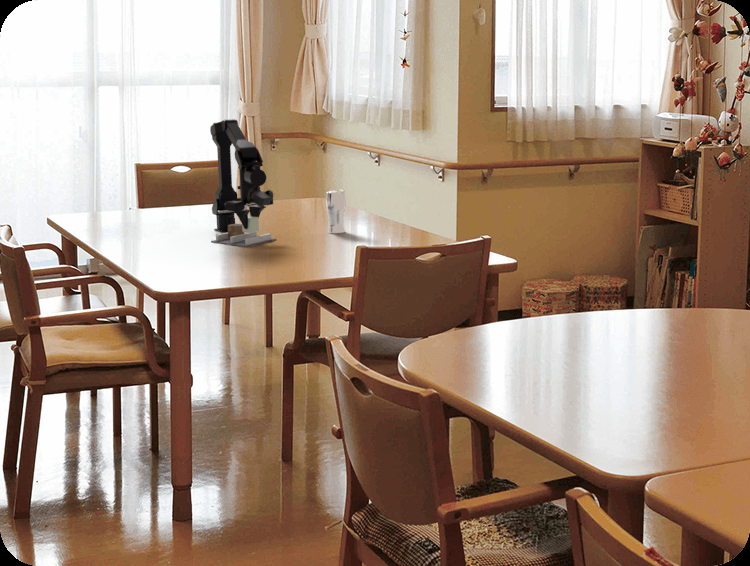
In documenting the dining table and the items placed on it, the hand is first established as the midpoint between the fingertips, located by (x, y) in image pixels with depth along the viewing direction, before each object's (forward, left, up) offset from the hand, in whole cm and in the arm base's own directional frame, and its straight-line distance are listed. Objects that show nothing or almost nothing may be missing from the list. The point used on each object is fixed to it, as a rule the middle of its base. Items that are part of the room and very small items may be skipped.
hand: (250, 227), depth 329 cm
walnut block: (-7, 0, -5) cm, 8 cm away
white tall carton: (+14, +30, -5) cm, 34 cm away
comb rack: (-3, 0, -5) cm, 6 cm away
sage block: (0, 0, -1) cm, 1 cm away
